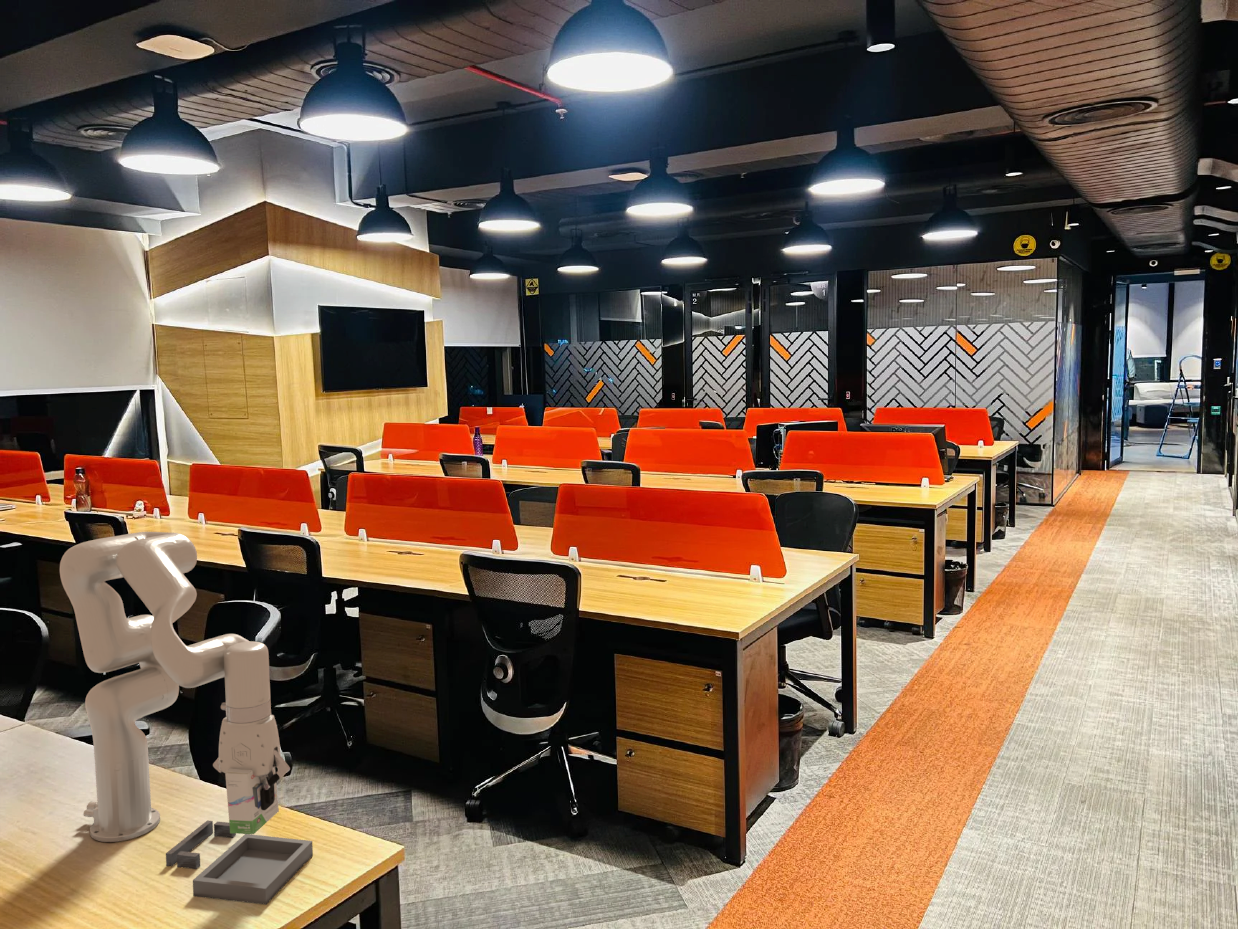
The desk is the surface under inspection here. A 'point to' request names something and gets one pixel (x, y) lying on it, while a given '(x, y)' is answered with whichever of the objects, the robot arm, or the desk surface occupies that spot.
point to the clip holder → (195, 844)
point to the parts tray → (253, 869)
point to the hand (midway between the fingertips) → (253, 804)
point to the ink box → (247, 802)
